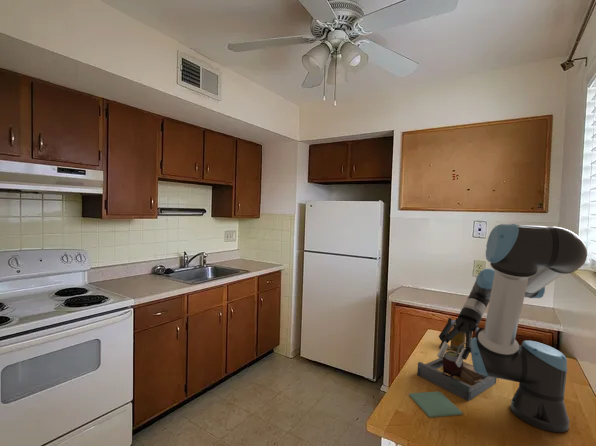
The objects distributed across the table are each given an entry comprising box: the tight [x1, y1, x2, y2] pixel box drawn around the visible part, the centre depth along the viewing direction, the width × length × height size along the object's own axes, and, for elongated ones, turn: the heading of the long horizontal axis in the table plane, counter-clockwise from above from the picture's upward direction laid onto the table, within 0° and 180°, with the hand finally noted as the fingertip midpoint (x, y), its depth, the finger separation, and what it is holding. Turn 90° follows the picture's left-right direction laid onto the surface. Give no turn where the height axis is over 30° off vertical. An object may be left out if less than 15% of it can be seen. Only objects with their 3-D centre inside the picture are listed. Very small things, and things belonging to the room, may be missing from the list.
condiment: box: [447, 323, 466, 354], centre depth 152 cm, size 7×8×12 cm
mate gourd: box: [442, 341, 467, 378], centre depth 122 cm, size 8×8×15 cm
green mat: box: [408, 390, 464, 418], centre depth 107 cm, size 12×12×1 cm
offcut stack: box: [460, 360, 483, 386], centre depth 128 cm, size 14×4×5 cm, turn 22°
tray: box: [416, 355, 498, 402], centre depth 125 cm, size 20×22×5 cm
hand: (448, 361), depth 121 cm, fingers closed on mate gourd, 6 cm apart
